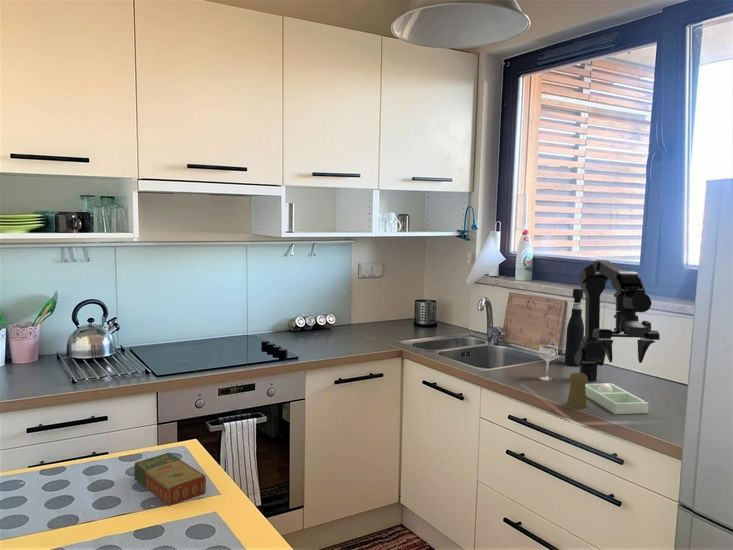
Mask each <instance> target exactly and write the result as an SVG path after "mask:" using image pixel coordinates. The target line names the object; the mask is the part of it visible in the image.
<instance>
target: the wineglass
mask: <svg viewBox="0 0 733 550" xmlns="http://www.w3.org/2000/svg"><path fill="white" fill-rule="evenodd" d="M558 349H559V346H558V345H555V344H549V343H545V344H544V343H543V344H539V348H538V354H539V357H540V358H541V359H542V360H544V361H545V362H546V371H545V372H546V376H541V377H539V380H541V379H542V380H541V381H553V380H552V379H553V378H552V377H550V376H549V373H548V372H549V364H550V363H551V361H554V360H555V359H556V358H558V356H559V350H558Z"/></svg>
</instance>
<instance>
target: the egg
mask: <svg viewBox="0 0 733 550" xmlns="http://www.w3.org/2000/svg"><path fill="white" fill-rule="evenodd" d="M606 383H607V382H606ZM606 383H605V382H603V383H599V384H600V385H599V386H598V389H597V391H598V392H599V393H613V389H612V387H611V386H610V385H609V384H606Z"/></svg>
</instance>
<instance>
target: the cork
mask: <svg viewBox="0 0 733 550" xmlns="http://www.w3.org/2000/svg"><path fill="white" fill-rule="evenodd" d="M569 382H570V386H569V391H568V395H567V401H566V405H567V406H568V407H569V408H570V407H571V408H573V409H586V408H588V407H587V396H586V389H585V385H586V384H588V382H589V381H588V378H587V376H586V375H585V374H583V373H579V372H578V371H577V372H572V373H571V374H570V375H569Z"/></svg>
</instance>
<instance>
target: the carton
mask: <svg viewBox="0 0 733 550" xmlns="http://www.w3.org/2000/svg"><path fill="white" fill-rule="evenodd" d="M133 469H134V480H135V481H137V483H139V484H141V485H142V486H143V487H144V488H146V489H147V490H148V491H149V492H151V493H152V494H153V495H154V496H156V497H157V498H158V499H159V500H160V501H162V502H163V503H164V504H165V505H167V506H168V507H170V506H174V505H176V504H179V503H182V502H185V501H187V500H188V501H189V500H191V499H193V498H197V497H199V496H202V495H206V491H207V490H206V489H207V487H206V485H207V484H206V483H207V480H206V478H207V477H206V475H205V474H203V473H202V472H200V471H198V470H197V469H196V468H194V467H192V466H191V465H190V464H188V463H186V462H185V461H183V460H182V459H180V458H178V457H177V456H176V455H174V454H172V453H171V452H166V453H163V454H159V455H157V456H153V457H149V458H146V459H142V460H139V461H136V462H134V467H133Z"/></svg>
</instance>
